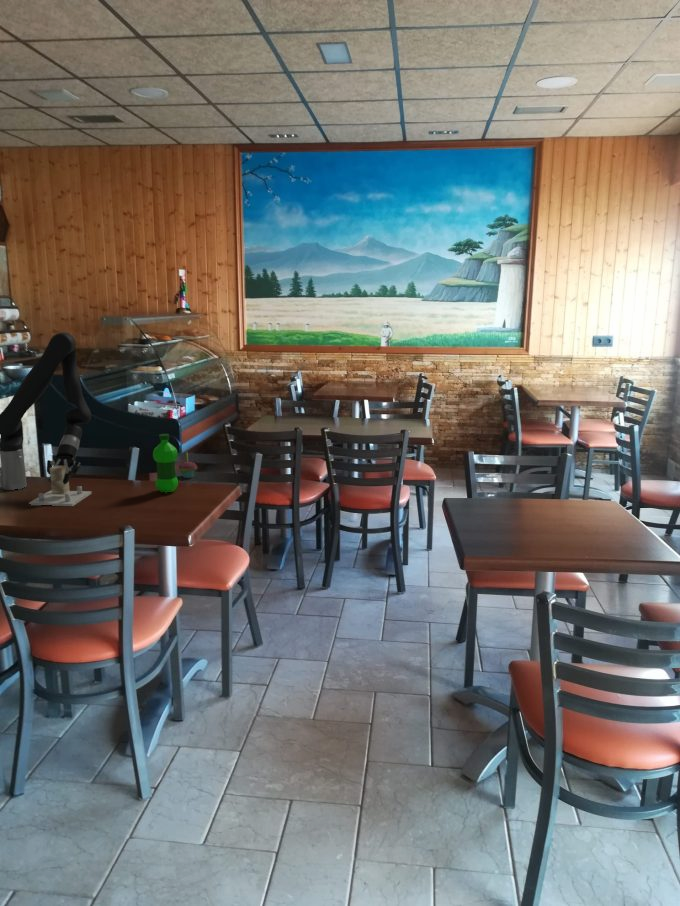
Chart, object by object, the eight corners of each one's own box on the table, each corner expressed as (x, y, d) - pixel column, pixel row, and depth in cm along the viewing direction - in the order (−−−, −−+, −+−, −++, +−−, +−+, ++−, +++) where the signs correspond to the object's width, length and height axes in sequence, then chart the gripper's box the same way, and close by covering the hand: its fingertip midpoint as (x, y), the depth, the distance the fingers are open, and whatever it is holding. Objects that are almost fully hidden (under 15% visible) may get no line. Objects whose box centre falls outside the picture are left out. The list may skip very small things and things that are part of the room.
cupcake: (178, 475, 321) (177, 450, 318) (196, 473, 324) (195, 449, 321) (179, 479, 313) (178, 454, 310) (198, 478, 316) (197, 453, 313)
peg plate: (29, 505, 274) (28, 495, 273) (50, 492, 292) (49, 483, 291) (72, 506, 273) (71, 496, 272) (91, 493, 290) (90, 484, 289)
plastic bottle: (159, 487, 299) (156, 432, 294) (182, 488, 298) (180, 432, 293) (151, 494, 290) (147, 436, 284) (175, 495, 289) (172, 437, 283)
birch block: (52, 494, 279) (49, 468, 277) (58, 490, 284) (55, 465, 282) (64, 494, 279) (61, 468, 276) (69, 491, 284) (67, 465, 281)
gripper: (48, 443, 285) (37, 478, 276) (81, 443, 284) (71, 478, 275) (55, 452, 291) (44, 487, 282) (88, 452, 290) (78, 487, 281)
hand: (57, 482), depth 279 cm, fingers closed on birch block, 5 cm apart
